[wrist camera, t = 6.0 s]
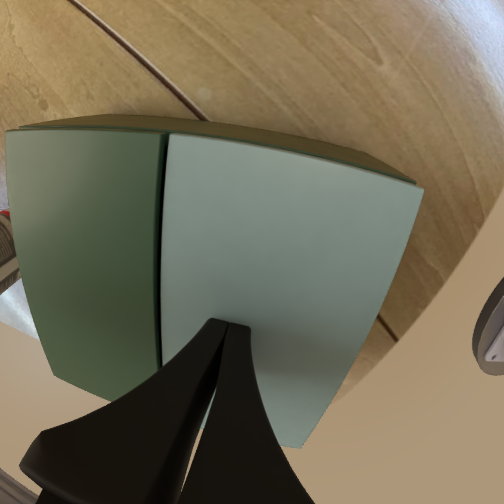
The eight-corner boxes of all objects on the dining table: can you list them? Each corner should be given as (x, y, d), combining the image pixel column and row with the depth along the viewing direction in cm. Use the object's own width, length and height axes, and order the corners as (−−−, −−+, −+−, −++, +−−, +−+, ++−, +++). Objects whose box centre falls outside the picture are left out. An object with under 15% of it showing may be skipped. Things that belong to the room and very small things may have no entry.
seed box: (367, 153, 13) (428, 188, 7) (304, 354, 19) (301, 449, 13) (104, 114, 14) (3, 129, 7) (108, 306, 20) (53, 375, 13)
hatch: (420, 186, 7) (425, 189, 7) (301, 442, 13) (300, 449, 13) (174, 132, 8) (168, 133, 7) (168, 412, 13) (166, 418, 13)
